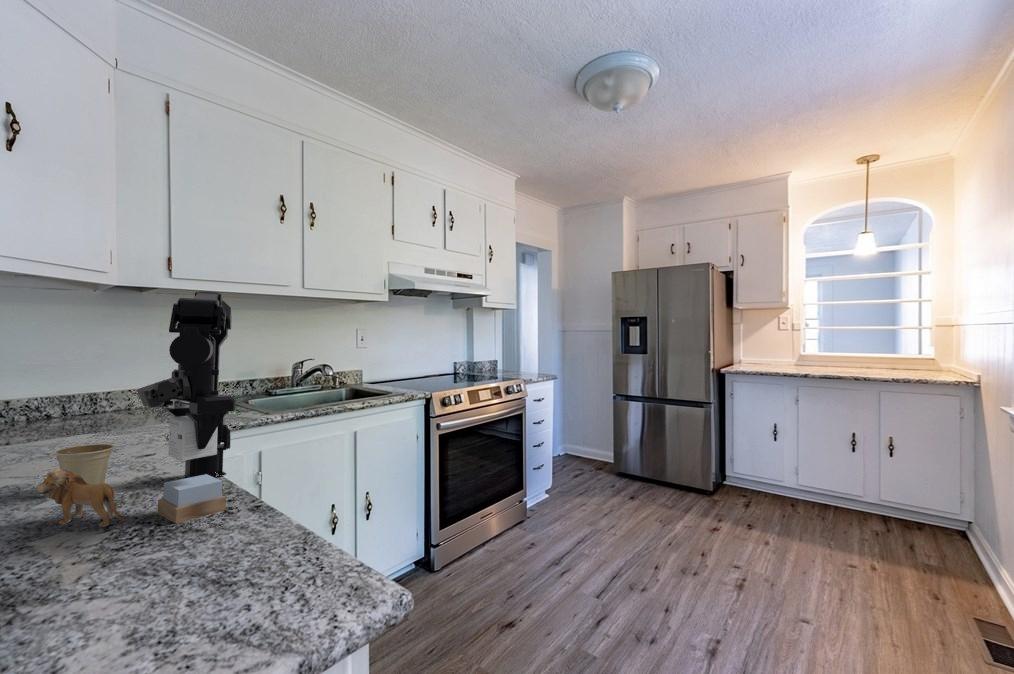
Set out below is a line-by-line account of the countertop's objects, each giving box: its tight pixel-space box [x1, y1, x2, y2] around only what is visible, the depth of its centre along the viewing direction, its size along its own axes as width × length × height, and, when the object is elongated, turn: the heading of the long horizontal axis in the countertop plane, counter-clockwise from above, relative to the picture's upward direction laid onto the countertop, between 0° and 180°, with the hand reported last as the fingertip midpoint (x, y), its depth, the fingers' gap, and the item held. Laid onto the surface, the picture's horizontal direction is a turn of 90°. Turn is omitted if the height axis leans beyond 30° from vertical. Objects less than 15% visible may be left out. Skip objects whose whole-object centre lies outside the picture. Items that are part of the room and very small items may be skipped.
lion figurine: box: [35, 469, 129, 528], centre depth 77 cm, size 15×5×9 cm, turn 91°
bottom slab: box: [157, 494, 227, 525], centre depth 82 cm, size 8×8×3 cm
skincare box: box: [167, 416, 218, 462], centre depth 83 cm, size 6×6×7 cm
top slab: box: [162, 474, 223, 507], centre depth 83 cm, size 7×7×3 cm
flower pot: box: [53, 443, 116, 485], centre depth 94 cm, size 9×9×9 cm
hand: (193, 446), depth 83 cm, fingers closed on skincare box, 6 cm apart
